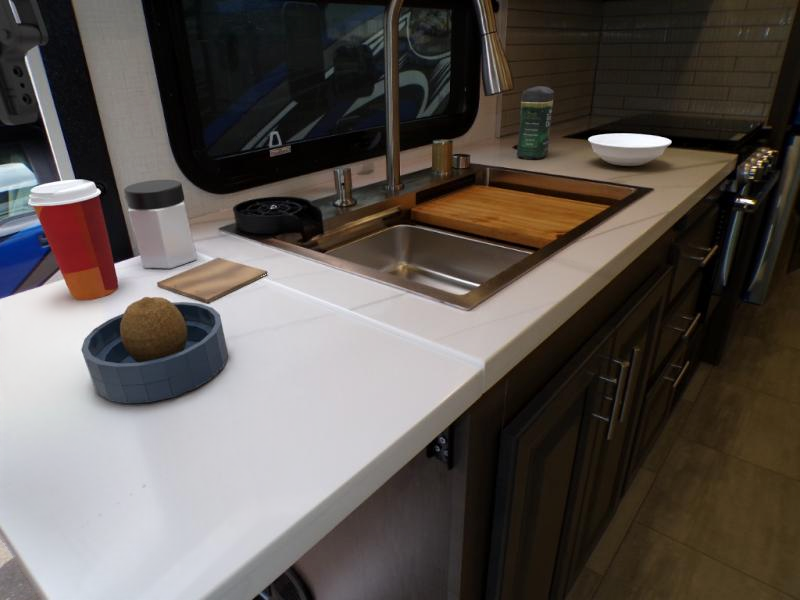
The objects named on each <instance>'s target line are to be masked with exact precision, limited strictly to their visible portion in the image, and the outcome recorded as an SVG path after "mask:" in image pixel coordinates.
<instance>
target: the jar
mask: <svg viewBox="0 0 800 600" xmlns="http://www.w3.org/2000/svg"><path fill="white" fill-rule="evenodd" d="M183 189H184V188H183V184H182V182H181V181H179V180H176V179H153V180H146V181H145V180H144V181H140V182H135V183H132V184H130V185H127V186H126V187H124V189H123V193H124V199H125V201H126V204H127V207H128V210H127V211H128V215H129V219H130V223H131V227H132V230H133V235H134V238H135V241H136V245H137V249H138V253H139V257H140V261H141V263H142V264H141V265H142V267H143V268H144V269H161V270H163V269H164V270H165V269H166V270H167V269H168V270H170V269H171V270H172V269H174V268H177V267H180V266H183V265H185V264H188V263H192V262H194V261H196V260H197V252H196V245H195V241H194V237H193V233H192V228H191V223H190V218H189V214H188V208H187V205H186V200H185V194H184V193H185V192H184V190H183Z"/></svg>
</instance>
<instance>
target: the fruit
mask: <svg viewBox="0 0 800 600" xmlns="http://www.w3.org/2000/svg"><path fill="white" fill-rule="evenodd" d="M173 303H174V302H172V301H170V300H168V299H167V298H164V297H160V296H159V297H158V296H154V297H149V296H144V297H142V298H141V299H139V300H136V301H134V302H132V303H130V304H129V305H127V306H126V309H125V311H124V312H123V313H124V314H123V313H122V314H123V316H122V320H121V323H120V334H121V339H122V342H123V344H124V346H125V348H126V351H127V352H128V354H129V355H130V356H131V358H133V359H134V360H135V361H136V362H137V363H140V362H145V361H150V360H155V359H160V358H164V357H167V356H170V355H173V354H176V353H179V352H181V351H184V348H185V345H186V341H187V326H186V323H185V320H184V318H183V316H182V314H181V313H180V311H179V310H178V309H177V307H176V306H175V305H174V304H173Z"/></svg>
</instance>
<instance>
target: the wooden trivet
mask: <svg viewBox="0 0 800 600" xmlns="http://www.w3.org/2000/svg"><path fill="white" fill-rule="evenodd" d="M267 273H268V274H269V272H268V270H265V269H261V268H258V267H254V266H250V265H248V264H247V265H246V264H243V263H239V262H236V261H233V260H228V259H225V258H221V257H216V258H214V259H211V260H209V261H207V262H204V263H201V264H200V265H196V266H194V267H192V268H190V269H187V270H185V271H181V272H179V273H177V274H174V275H172V276H170V277H167V278H165V279H162V280H159V281H157V282H156V286H157V287H158V288H162V289H165V290H166V291H167V290H168V291H170V292H173V293H175V294H179V295H182V296H185V297H188V298H191V299H193V300H196V301H199V302H203V303H205V304H209V303H211V302H214V301H216V300H217V299H220V298H222V297H224V296H226V295H229V294H230V293H232V292H235V291H236V290H239V289H241V288H243V287H245V286H247V285H249V284H251V283H253V282H256V281H257V280H259V278H260V277H261V276H263V275H265V274H267ZM260 279H261V278H260Z"/></svg>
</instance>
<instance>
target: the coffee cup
mask: <svg viewBox="0 0 800 600" xmlns="http://www.w3.org/2000/svg"><path fill="white" fill-rule="evenodd" d="M101 193H102V191H101V190H100V188H97V186H96V183H95V182H94V181H91V180H87V179H66V180H58V181H53V182H48V183H42V184H40V185H37V186H34V187H32V188H31V189H30V194H29V195H28V197H29V198H28V202H27V204H28V205H29V206H33V209H34V211H35V213H36V216H37V218H38V221H39V223H40V225H41V228H42V231H43V233H44V235H45V238H46V240H47V243H48V244H49V248H50V249H51V251H52V254H53V256H54V259H55V262H56V265H57V266H58V268H59V271H60V273H61V275H62V278H63V279H64V282H65V284H66V287H67V289H68V291H69V293H70V295H71V297H72V298H73V299H75V300H80V301H89V300H96V299H99V298H103V297H106V296H109V295H111V294H113V293H115V292H116V291H117V290H118V288H119V281H118V275H117V270H116V267H115V262H114V256H113V253H112V247H111V242H110V238H109V237H110V236H109V233H108V229H107V224H106V220H105V216H104V212H103V208H102V203H101V199H100V195H101Z"/></svg>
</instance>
